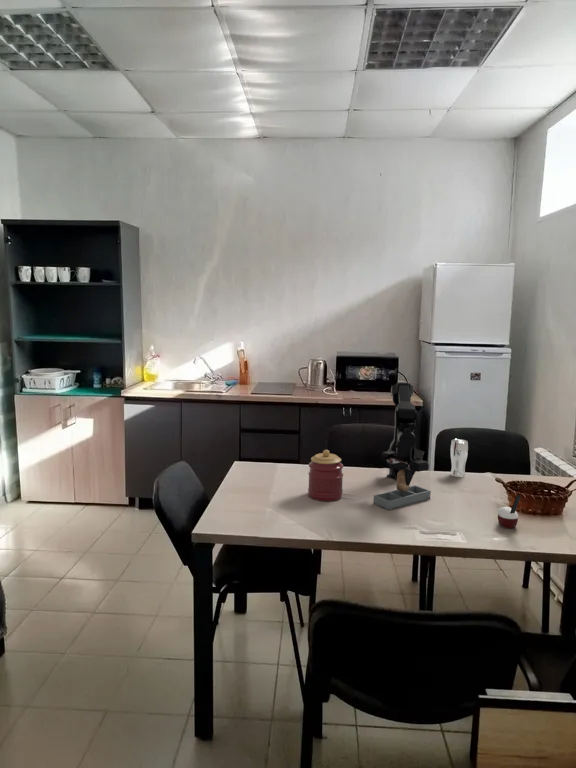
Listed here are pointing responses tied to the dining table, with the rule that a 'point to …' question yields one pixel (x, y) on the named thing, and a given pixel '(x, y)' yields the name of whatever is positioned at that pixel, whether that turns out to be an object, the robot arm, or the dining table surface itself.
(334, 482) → the canister
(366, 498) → the dining table surface
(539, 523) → the dining table surface
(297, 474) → the dining table surface
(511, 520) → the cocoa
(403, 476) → the brown rounded cylinder
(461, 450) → the beer glass
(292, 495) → the dining table surface
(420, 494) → the grey compartment tray
